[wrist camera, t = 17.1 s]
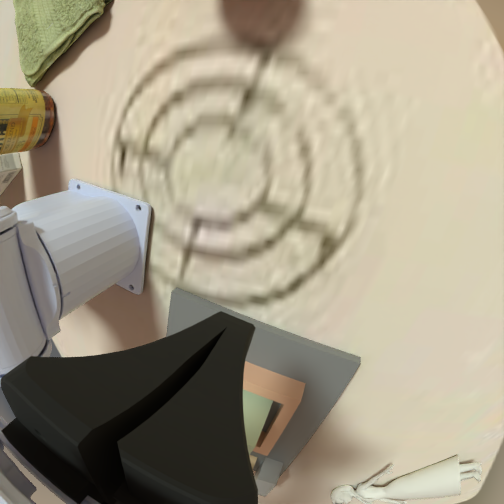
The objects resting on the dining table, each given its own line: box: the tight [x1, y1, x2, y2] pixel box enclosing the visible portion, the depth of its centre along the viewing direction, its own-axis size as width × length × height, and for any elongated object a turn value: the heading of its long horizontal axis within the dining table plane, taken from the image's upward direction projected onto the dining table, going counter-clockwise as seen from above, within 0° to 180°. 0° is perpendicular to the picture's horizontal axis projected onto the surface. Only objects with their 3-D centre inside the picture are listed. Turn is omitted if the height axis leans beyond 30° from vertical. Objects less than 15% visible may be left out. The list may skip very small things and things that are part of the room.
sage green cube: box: [243, 389, 273, 455], centre depth 22 cm, size 5×5×6 cm
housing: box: [166, 288, 360, 497], centre depth 25 cm, size 15×20×4 cm
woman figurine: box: [331, 455, 482, 504], centre depth 23 cm, size 12×4×18 cm
